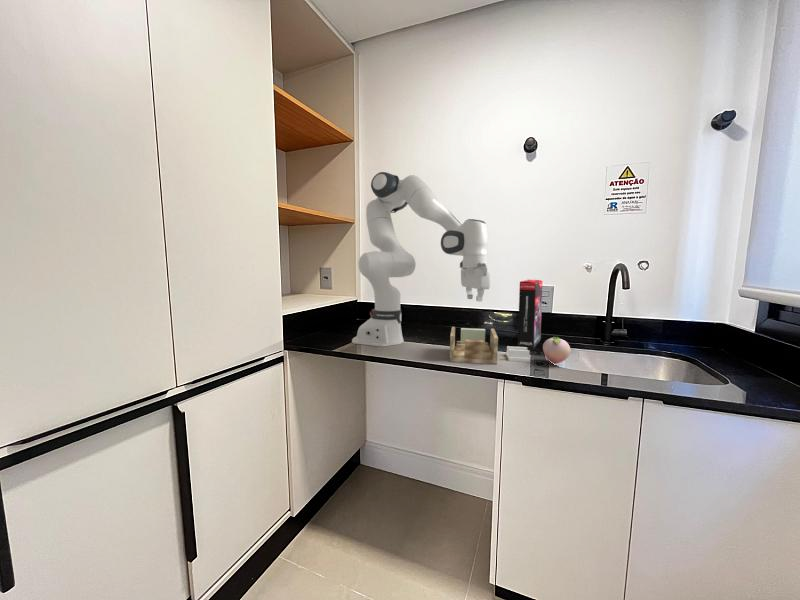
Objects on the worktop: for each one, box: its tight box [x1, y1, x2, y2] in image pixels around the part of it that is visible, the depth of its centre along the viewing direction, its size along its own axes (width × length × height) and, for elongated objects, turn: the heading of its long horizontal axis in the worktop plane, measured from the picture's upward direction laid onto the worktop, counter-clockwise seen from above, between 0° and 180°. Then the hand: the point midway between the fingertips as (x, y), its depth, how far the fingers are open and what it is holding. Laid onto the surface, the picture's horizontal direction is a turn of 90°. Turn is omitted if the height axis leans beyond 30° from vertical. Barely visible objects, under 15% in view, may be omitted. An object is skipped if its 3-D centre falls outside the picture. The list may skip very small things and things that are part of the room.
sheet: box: [460, 327, 486, 345], centre depth 126 cm, size 9×2×8 cm, turn 79°
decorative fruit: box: [542, 335, 571, 365], centre depth 113 cm, size 9×8×10 cm
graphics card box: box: [517, 279, 543, 349], centre depth 139 cm, size 17×7×27 cm, turn 149°
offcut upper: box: [465, 339, 484, 351], centre depth 116 cm, size 6×4×3 cm, turn 85°
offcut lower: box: [464, 348, 482, 359], centre depth 116 cm, size 6×4×3 cm, turn 79°
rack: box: [449, 326, 499, 365], centre depth 121 cm, size 16×16×9 cm
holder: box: [505, 345, 531, 363], centre depth 119 cm, size 7×8×4 cm
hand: (474, 300), depth 124 cm, fingers open, 8 cm apart
